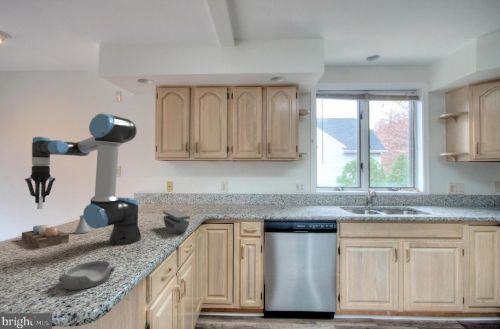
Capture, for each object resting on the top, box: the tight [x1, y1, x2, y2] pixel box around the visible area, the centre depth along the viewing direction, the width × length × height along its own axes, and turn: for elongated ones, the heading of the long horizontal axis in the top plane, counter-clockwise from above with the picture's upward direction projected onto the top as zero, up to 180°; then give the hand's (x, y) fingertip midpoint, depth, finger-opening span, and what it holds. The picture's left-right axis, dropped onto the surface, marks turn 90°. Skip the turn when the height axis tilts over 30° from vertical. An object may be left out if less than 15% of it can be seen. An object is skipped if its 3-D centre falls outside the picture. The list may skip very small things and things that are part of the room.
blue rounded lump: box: [32, 224, 42, 233], centre depth 132 cm, size 5×5×5 cm
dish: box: [58, 259, 116, 291], centre depth 84 cm, size 14×14×5 cm
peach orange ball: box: [45, 226, 59, 238], centre depth 123 cm, size 5×5×5 cm
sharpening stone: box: [162, 209, 191, 235], centre depth 152 cm, size 25×8×11 cm, turn 37°
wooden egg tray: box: [21, 230, 70, 249], centre depth 127 cm, size 24×12×4 cm, turn 58°
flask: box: [74, 214, 91, 234], centre depth 145 cm, size 7×7×10 cm
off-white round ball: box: [38, 224, 53, 236], centre depth 128 cm, size 5×5×5 cm
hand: (39, 208), depth 132 cm, fingers closed
